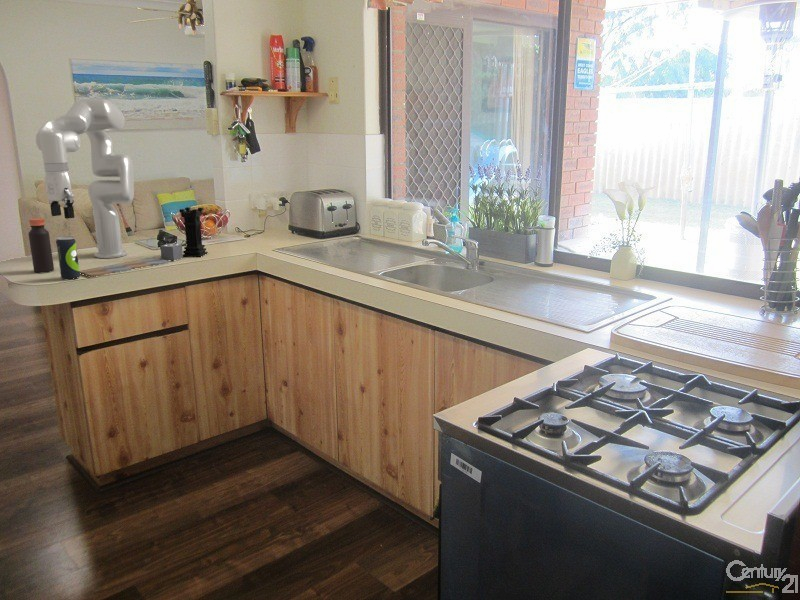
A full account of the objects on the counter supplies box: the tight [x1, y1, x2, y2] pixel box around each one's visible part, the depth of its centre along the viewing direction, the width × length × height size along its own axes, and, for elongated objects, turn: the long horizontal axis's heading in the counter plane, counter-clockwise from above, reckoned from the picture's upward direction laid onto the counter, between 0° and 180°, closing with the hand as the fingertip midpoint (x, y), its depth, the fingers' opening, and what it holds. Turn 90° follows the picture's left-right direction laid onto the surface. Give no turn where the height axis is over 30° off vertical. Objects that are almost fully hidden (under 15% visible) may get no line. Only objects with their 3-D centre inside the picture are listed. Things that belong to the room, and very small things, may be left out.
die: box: [160, 243, 184, 262], centre depth 267 cm, size 6×6×6 cm
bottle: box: [27, 217, 55, 273], centre depth 244 cm, size 7×7×20 cm
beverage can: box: [55, 235, 81, 280], centre depth 234 cm, size 6×6×15 cm
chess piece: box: [179, 206, 209, 258], centre depth 273 cm, size 8×8×20 cm
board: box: [79, 257, 170, 278], centre depth 251 cm, size 10×32×1 cm, turn 142°
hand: (63, 216), depth 230 cm, fingers open, 9 cm apart
